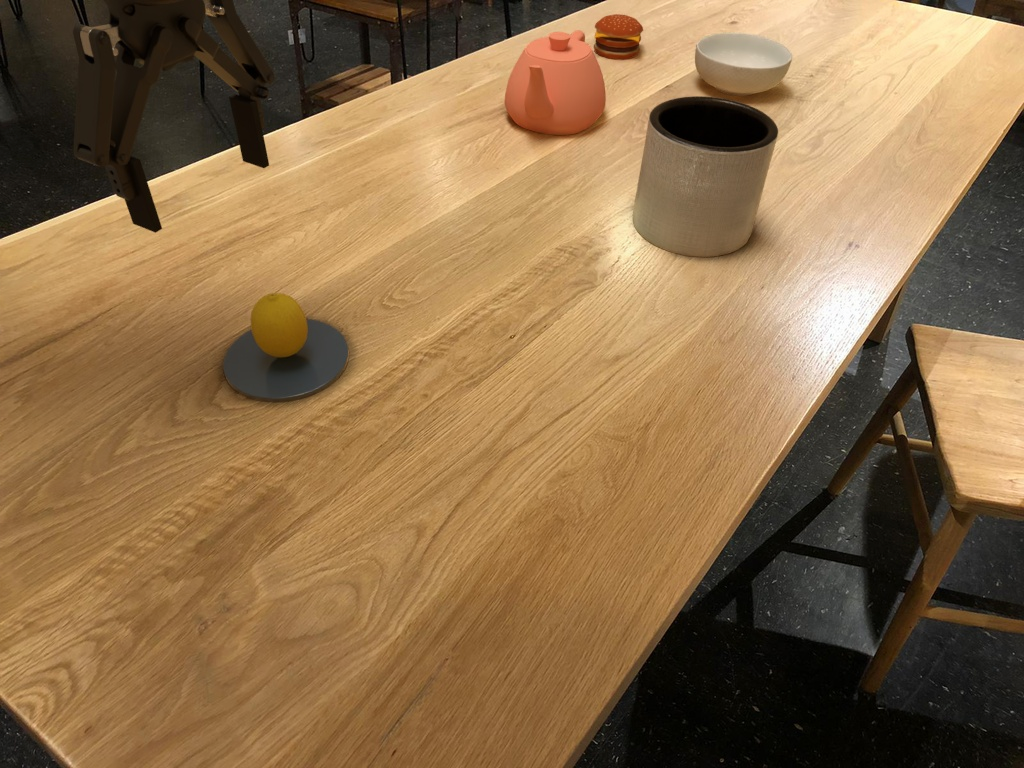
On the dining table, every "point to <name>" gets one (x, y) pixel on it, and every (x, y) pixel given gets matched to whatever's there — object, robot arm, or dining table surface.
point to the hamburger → (617, 36)
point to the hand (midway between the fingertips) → (205, 193)
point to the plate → (287, 366)
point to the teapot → (556, 85)
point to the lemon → (279, 325)
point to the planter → (702, 175)
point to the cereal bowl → (741, 62)
